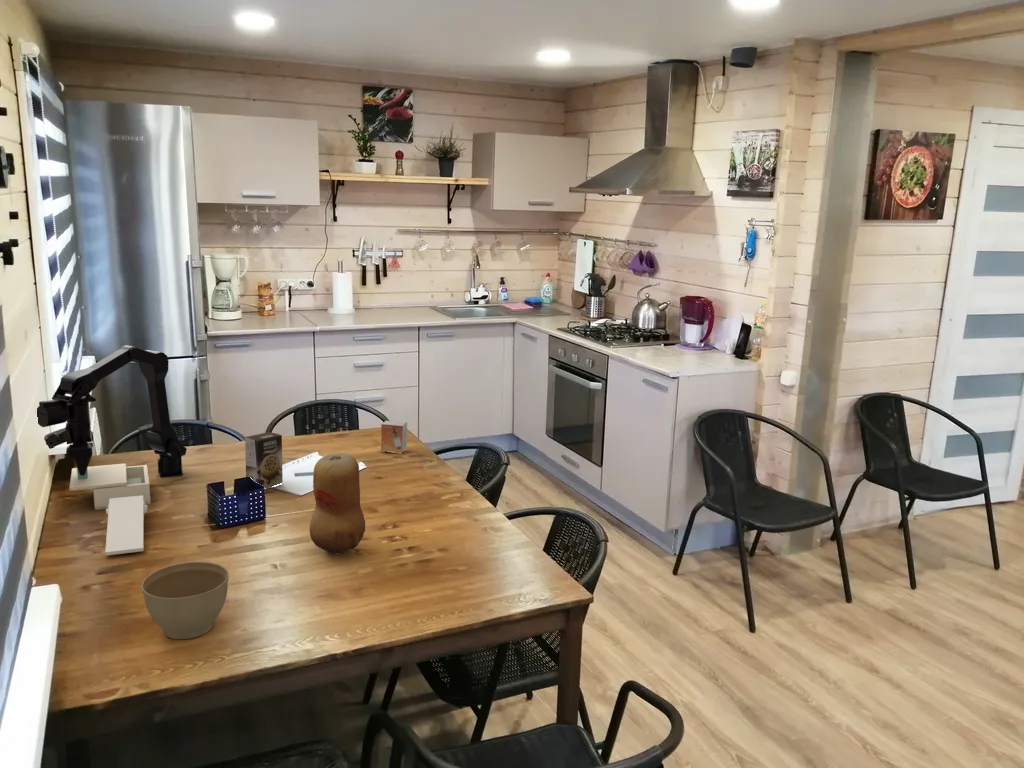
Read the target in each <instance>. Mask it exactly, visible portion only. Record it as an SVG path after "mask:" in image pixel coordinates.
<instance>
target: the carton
mask: <svg viewBox="0 0 1024 768" xmlns="http://www.w3.org/2000/svg"><path fill="white" fill-rule="evenodd" d="M126 478H127V485H122V486H112V487H103V488H93V503H94V511H99V510H106V509H108V505H109V499H110V498H121V497H131V496H142V495H143V501H144V502H145V505H151V488H150V479H149V471H148V465H147V464H144V465H133V466H132V465H130V466H126Z"/></svg>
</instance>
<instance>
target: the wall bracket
mask: <svg viewBox="0 0 1024 768" xmlns="http://www.w3.org/2000/svg"><path fill="white" fill-rule="evenodd" d="M147 510H148V504H145V502H144V501H143V495H142V496H131V497H121V498H110V499H109V505H108V509H105V513H106V515H107V524H106V525H107V526H106V527H107V528H106V539H105V550H104V551H105V552H104V553H105V554H104V555H105V556H115V555H122V554H129V553H137V552H144V521H145V519H144V518H145V514H147Z"/></svg>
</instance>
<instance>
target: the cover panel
mask: <svg viewBox="0 0 1024 768" xmlns="http://www.w3.org/2000/svg"><path fill="white" fill-rule="evenodd" d="M126 467H127V464H126V463H116V464H114V463H113V464H104V465H102V464H101V465H93V466H88V467H87V470H86V473H85V475H82V476H81V475H80V473H79V471H78V468H77V467H73V468H71V475H70V482H69V488H68V489H69V492H71V491H73V492H74V491H80V490H81V491H82V490H92V489H93V488H103V487H112V486H122V485H127V478H126Z"/></svg>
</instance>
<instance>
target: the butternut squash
mask: <svg viewBox="0 0 1024 768" xmlns="http://www.w3.org/2000/svg"><path fill="white" fill-rule="evenodd" d="M312 476H313V477H312V481H313V482H312V483H313V484H312V485H313V487H312V488H313V495H314V496H313V497H314V500H315V508H314V510H313V513H312V514H311V519H310V522H309V535H310V539H311V541H312V543H314V545H315V546H316V547H318V548H320V549H321V550H323V551H325V552H328V553H332V554H336V553H340V554H342V552H345V551H349V550H354V549H355V548H356V547H357V546H358V545H359V544H360V542H361V541H362V539H363V537H364V534H365V532H366V520H365V515H364V512H363V510H362V508H361V489H360V488H361V487H360V465H359V462H358V461H357V459H356V458H355V457H353V455H349V454H348V453H344V452H343V453H342V452H337V453H331V454H327V455H325V456H322V457H321V458H320V459H318V460H317V462H316V463H315V464H314V468H313V475H312Z"/></svg>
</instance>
